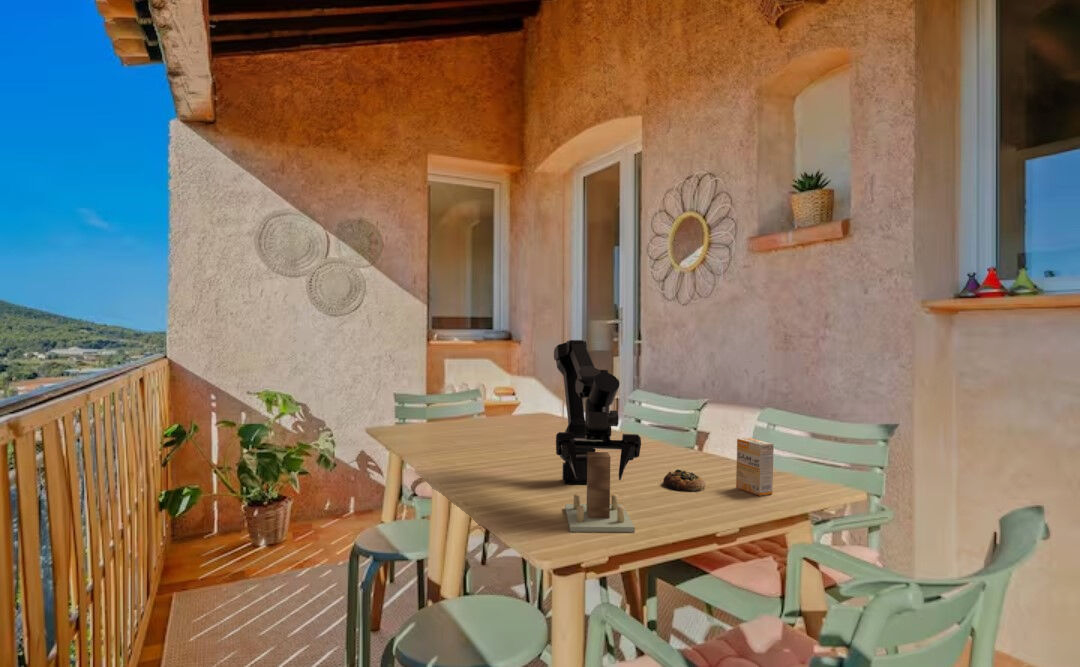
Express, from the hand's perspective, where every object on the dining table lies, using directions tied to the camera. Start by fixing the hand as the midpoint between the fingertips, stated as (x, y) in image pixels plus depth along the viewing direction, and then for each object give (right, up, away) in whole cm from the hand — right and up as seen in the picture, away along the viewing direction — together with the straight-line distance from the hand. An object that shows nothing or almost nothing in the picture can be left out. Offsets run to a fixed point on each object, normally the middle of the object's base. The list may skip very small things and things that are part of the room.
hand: (598, 478), depth 120 cm
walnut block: (0, -8, 0) cm, 8 cm away
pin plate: (0, -9, 0) cm, 9 cm away
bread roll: (+26, -10, +28) cm, 40 cm away
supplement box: (+43, -10, +24) cm, 50 cm away
